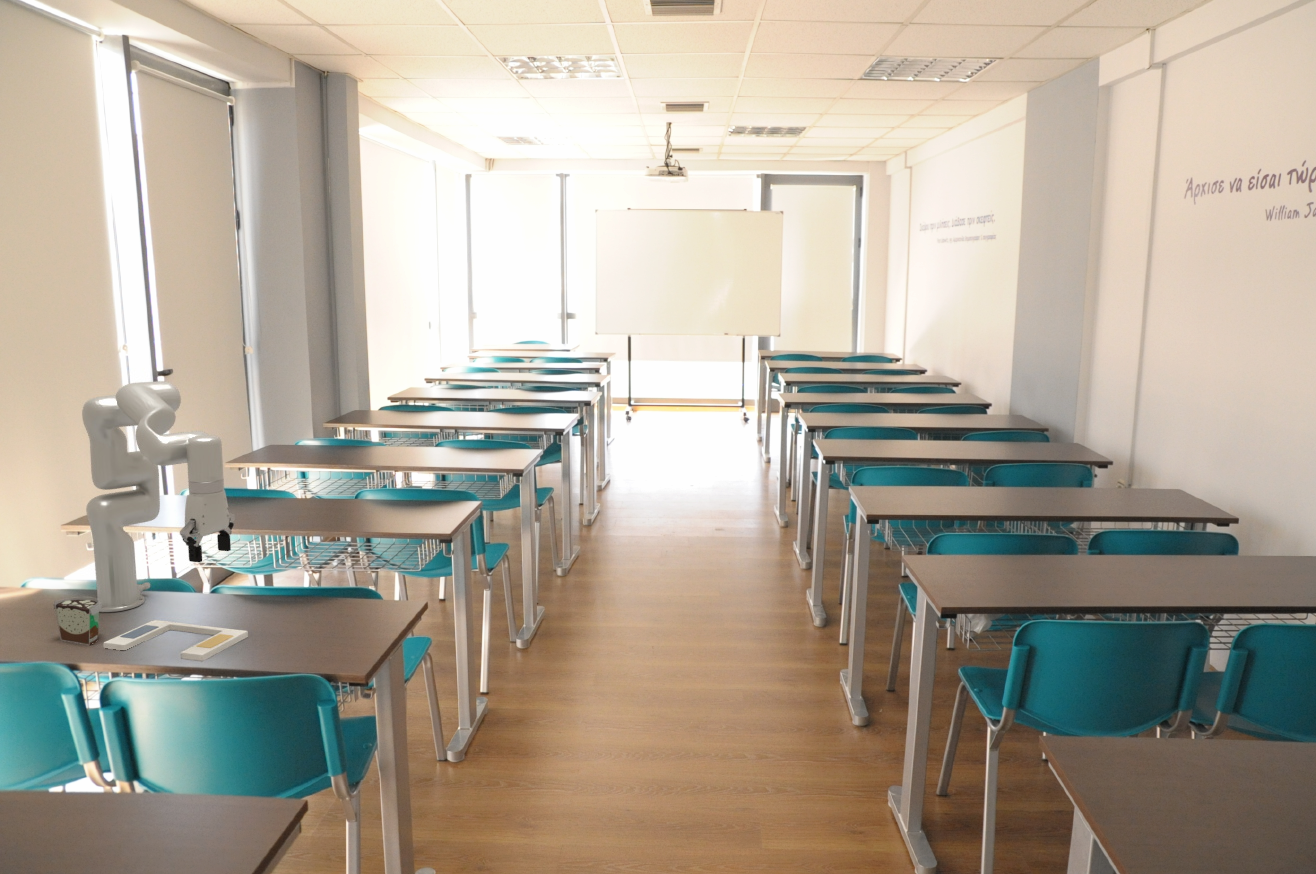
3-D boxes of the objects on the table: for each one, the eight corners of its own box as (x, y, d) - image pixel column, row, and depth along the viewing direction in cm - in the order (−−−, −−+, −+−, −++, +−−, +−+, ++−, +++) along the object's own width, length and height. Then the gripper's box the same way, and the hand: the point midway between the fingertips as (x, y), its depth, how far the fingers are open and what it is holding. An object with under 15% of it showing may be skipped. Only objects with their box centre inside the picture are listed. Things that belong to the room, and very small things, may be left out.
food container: (116, 637, 221) (113, 599, 219) (94, 646, 215) (91, 607, 214) (78, 631, 224) (75, 593, 223) (56, 639, 219) (52, 601, 217)
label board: (154, 625, 229) (154, 619, 229) (248, 636, 223) (247, 630, 223) (103, 648, 214) (103, 641, 214) (202, 661, 208) (202, 654, 208)
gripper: (218, 479, 219) (222, 545, 222) (165, 493, 203) (170, 564, 205) (244, 481, 218) (247, 547, 220) (193, 495, 201) (197, 567, 204)
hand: (210, 555), depth 213 cm, fingers open, 9 cm apart
